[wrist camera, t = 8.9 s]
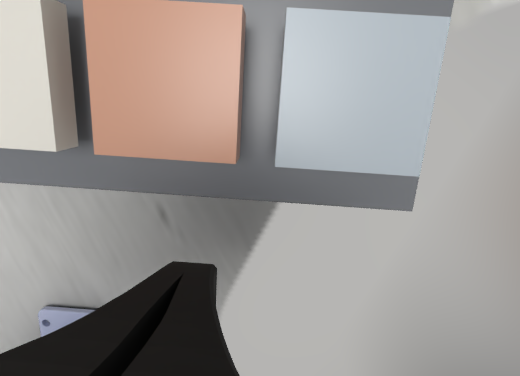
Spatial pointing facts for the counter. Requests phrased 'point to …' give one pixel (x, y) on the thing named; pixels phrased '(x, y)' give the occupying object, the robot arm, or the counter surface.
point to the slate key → (357, 90)
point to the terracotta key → (166, 78)
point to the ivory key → (36, 77)
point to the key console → (252, 129)
